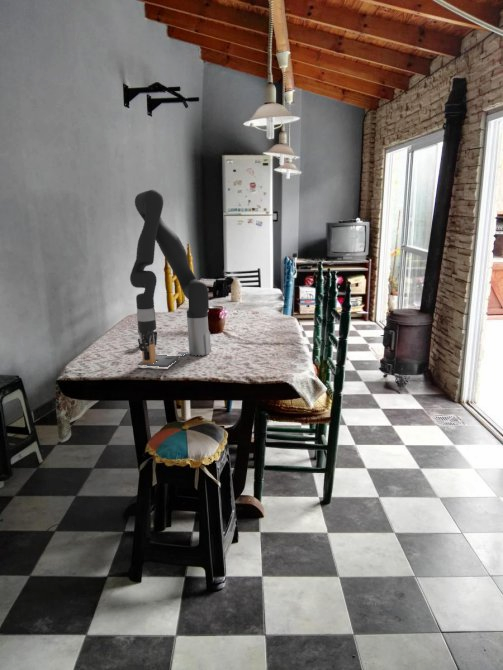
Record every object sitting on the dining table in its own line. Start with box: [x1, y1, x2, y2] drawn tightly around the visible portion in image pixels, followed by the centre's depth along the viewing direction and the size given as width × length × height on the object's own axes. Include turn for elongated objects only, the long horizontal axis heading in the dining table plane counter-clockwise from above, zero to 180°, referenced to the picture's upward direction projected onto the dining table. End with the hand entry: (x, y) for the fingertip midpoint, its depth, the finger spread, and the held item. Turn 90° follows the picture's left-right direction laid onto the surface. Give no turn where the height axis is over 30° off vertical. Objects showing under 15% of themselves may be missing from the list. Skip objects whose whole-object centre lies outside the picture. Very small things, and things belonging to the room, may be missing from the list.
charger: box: [141, 343, 157, 363], centre depth 217 cm, size 4×4×8 cm
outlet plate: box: [137, 354, 180, 367], centre depth 220 cm, size 13×13×2 cm
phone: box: [177, 351, 189, 356], centre depth 234 cm, size 6×13×1 cm, turn 75°
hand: (149, 358), depth 217 cm, fingers closed on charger, 4 cm apart
